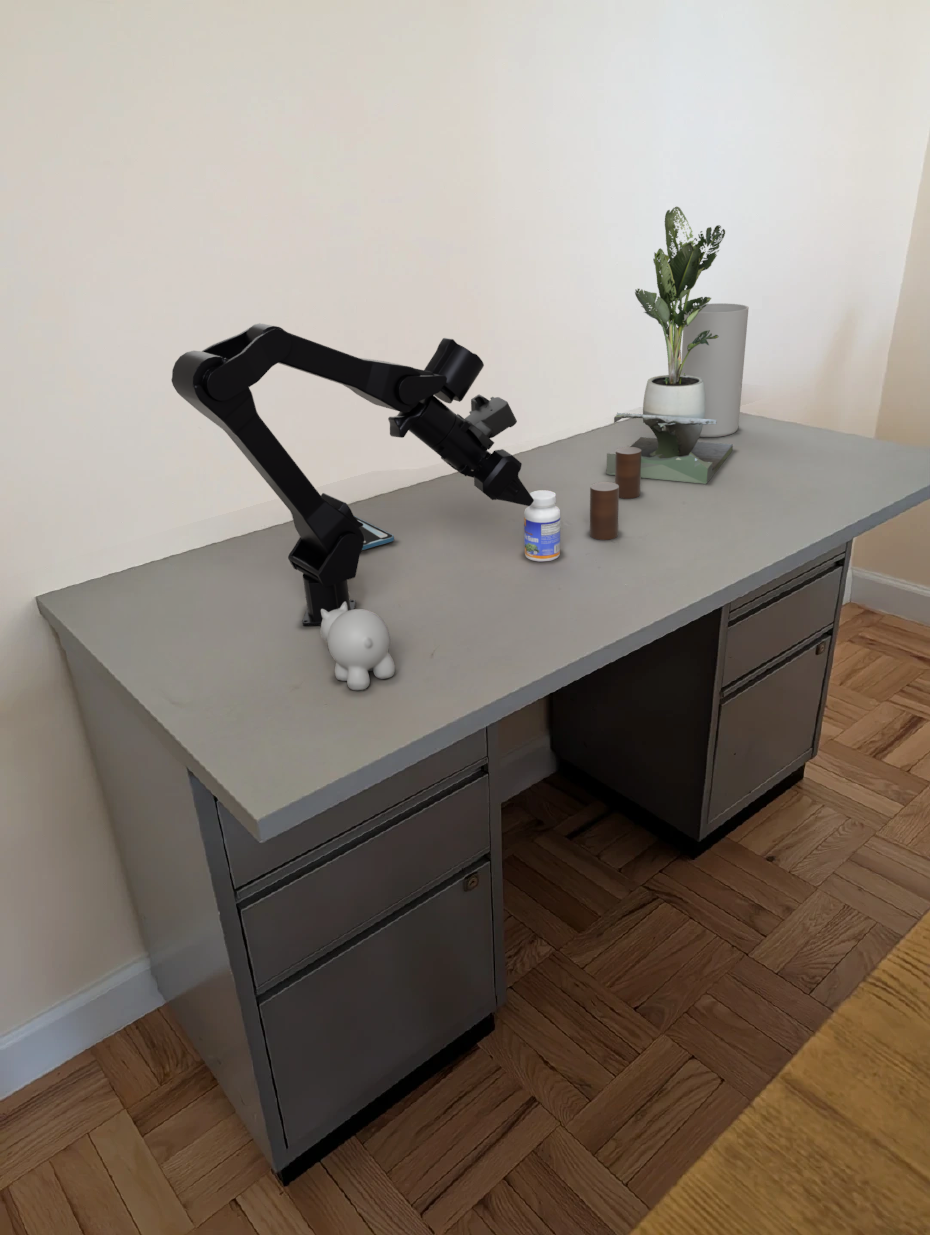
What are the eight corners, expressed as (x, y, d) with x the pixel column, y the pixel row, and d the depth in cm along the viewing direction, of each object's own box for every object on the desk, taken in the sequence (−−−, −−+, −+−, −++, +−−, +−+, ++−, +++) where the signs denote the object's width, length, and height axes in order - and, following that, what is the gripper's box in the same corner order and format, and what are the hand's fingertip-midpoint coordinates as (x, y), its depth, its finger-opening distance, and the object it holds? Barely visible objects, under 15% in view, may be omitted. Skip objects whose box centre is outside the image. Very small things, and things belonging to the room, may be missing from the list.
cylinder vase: (701, 419, 199) (709, 302, 188) (750, 429, 190) (761, 306, 179) (665, 431, 192) (671, 310, 181) (714, 441, 183) (723, 314, 172)
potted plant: (706, 484, 160) (726, 209, 140) (606, 474, 168) (610, 213, 148) (732, 450, 178) (752, 201, 157) (640, 443, 185) (648, 205, 165)
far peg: (641, 498, 156) (643, 453, 152) (616, 499, 156) (617, 454, 152) (637, 489, 160) (639, 446, 156) (612, 491, 160) (613, 447, 156)
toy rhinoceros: (356, 641, 114) (349, 580, 110) (405, 678, 105) (398, 613, 101) (305, 659, 110) (295, 597, 106) (350, 699, 101) (342, 633, 97)
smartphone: (352, 514, 154) (396, 536, 142) (352, 519, 154) (397, 542, 143) (313, 524, 150) (355, 548, 139) (314, 530, 151) (356, 553, 139)
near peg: (619, 539, 139) (621, 490, 136) (591, 540, 140) (592, 491, 136) (615, 529, 143) (616, 481, 140) (588, 530, 143) (588, 482, 140)
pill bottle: (518, 553, 137) (516, 492, 132) (549, 546, 138) (548, 485, 134) (535, 565, 132) (534, 503, 128) (567, 557, 134) (567, 496, 130)
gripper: (504, 395, 113) (583, 466, 121) (455, 370, 129) (528, 434, 137) (449, 465, 114) (531, 531, 122) (408, 431, 130) (482, 491, 138)
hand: (518, 493), depth 130 cm, fingers open, 9 cm apart
